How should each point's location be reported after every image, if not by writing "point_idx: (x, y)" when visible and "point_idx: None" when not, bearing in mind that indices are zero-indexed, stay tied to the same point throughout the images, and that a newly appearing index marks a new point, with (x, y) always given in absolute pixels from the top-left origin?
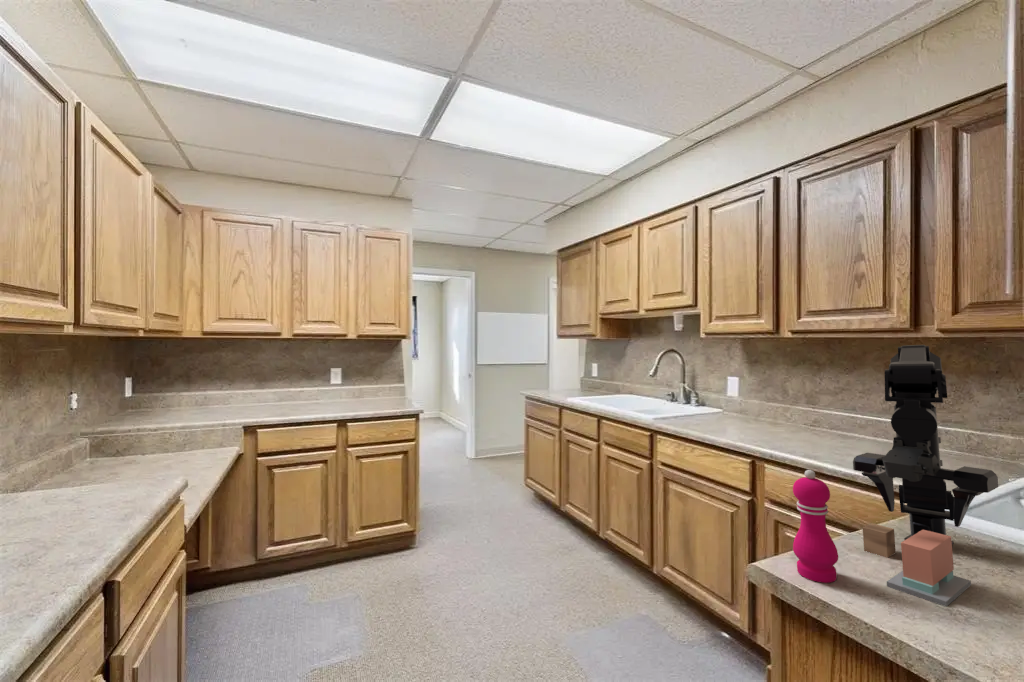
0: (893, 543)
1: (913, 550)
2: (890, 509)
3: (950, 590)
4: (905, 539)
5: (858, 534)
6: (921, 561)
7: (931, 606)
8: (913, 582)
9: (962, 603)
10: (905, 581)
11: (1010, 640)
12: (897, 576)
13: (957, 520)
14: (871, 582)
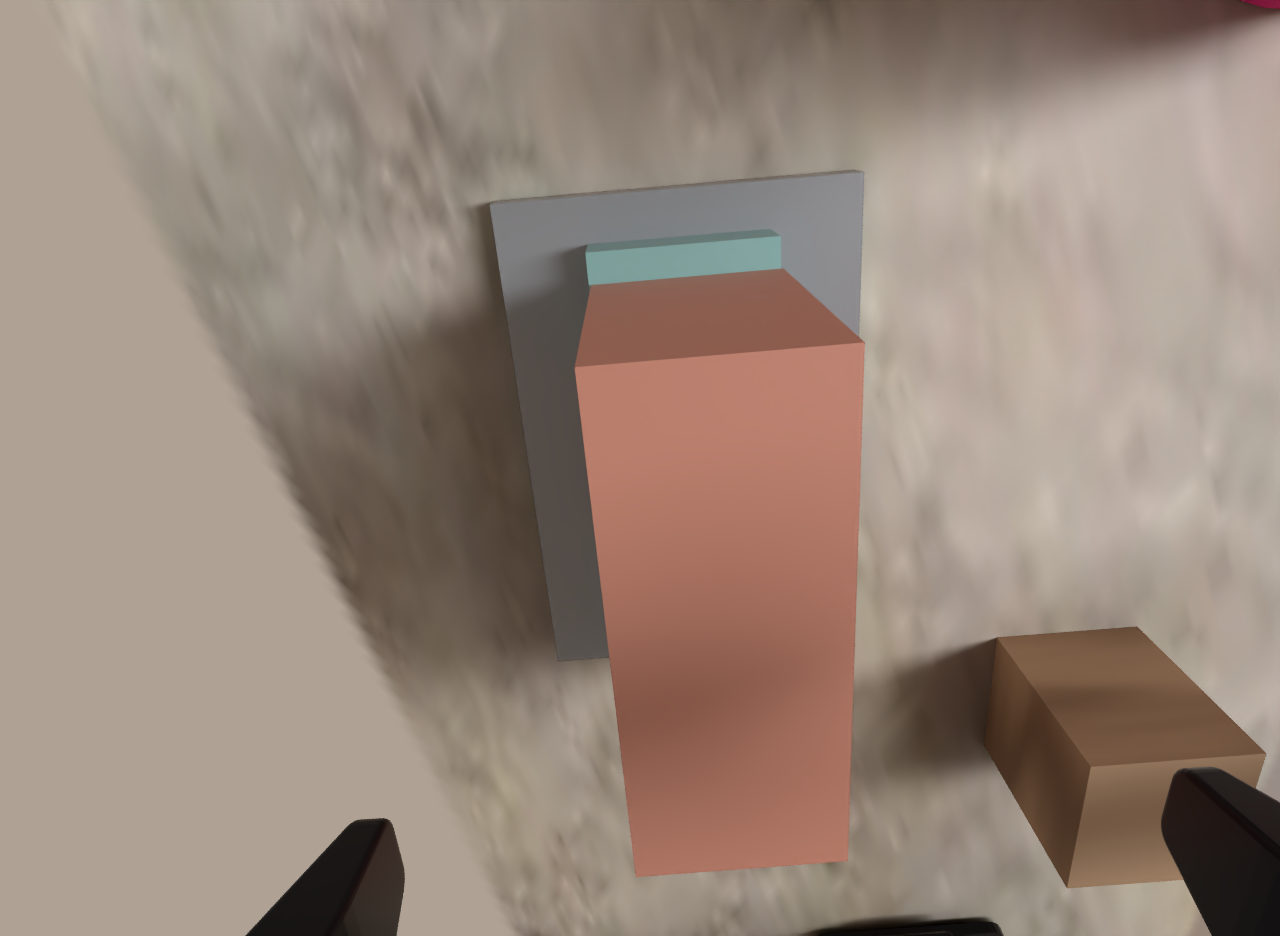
0: (1018, 778)
1: (733, 340)
2: (1213, 788)
3: (553, 416)
4: (995, 930)
5: None
6: (662, 322)
7: (546, 109)
8: (705, 243)
9: (472, 349)
10: (756, 234)
11: (85, 44)
12: None
13: (300, 894)
14: (949, 131)
